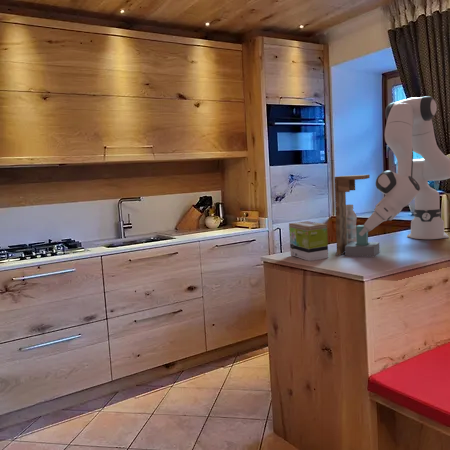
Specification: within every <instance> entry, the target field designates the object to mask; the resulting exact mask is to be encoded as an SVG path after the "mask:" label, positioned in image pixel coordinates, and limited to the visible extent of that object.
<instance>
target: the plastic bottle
mask: <svg viewBox="0 0 450 450" xmlns="http://www.w3.org/2000/svg"><path fill="white" fill-rule="evenodd" d="M357 217H358V216H357V214H356V212H355V211H354V204H346V226H347V244H349V243H350V242H357V238H356V226H357Z"/></svg>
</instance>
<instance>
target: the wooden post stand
mask: <svg viewBox="0 0 450 450" xmlns="http://www.w3.org/2000/svg"><path fill="white" fill-rule="evenodd" d="M370 176H371V175H370V174H352V175H351V174H350V175H337V176H334V203H335V205H334V207H335V233H336V234H335V235H336V238H335V239H336V256H342V255H343V254H345V246H346V245H347V226H346V205H347V201H346V200H347V199H346V197H347V196H346V193H350V192H351V191H356V180H367V179H370Z"/></svg>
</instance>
